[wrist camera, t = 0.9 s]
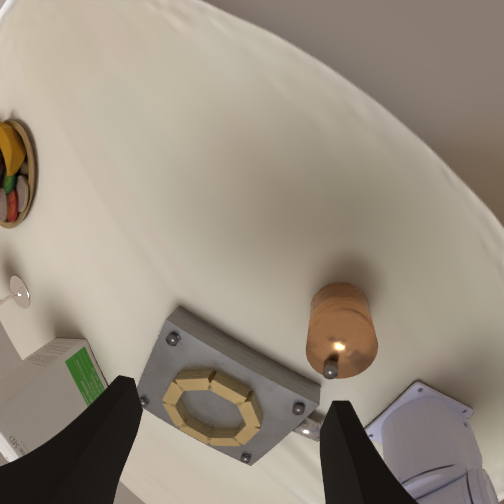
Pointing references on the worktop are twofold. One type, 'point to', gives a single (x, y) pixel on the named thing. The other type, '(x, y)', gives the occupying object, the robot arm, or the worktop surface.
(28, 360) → the skincare box
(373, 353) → the copper spout can
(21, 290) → the wineglass
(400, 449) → the robot arm
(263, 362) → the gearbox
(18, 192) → the toy sandwich meal
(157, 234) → the worktop surface
